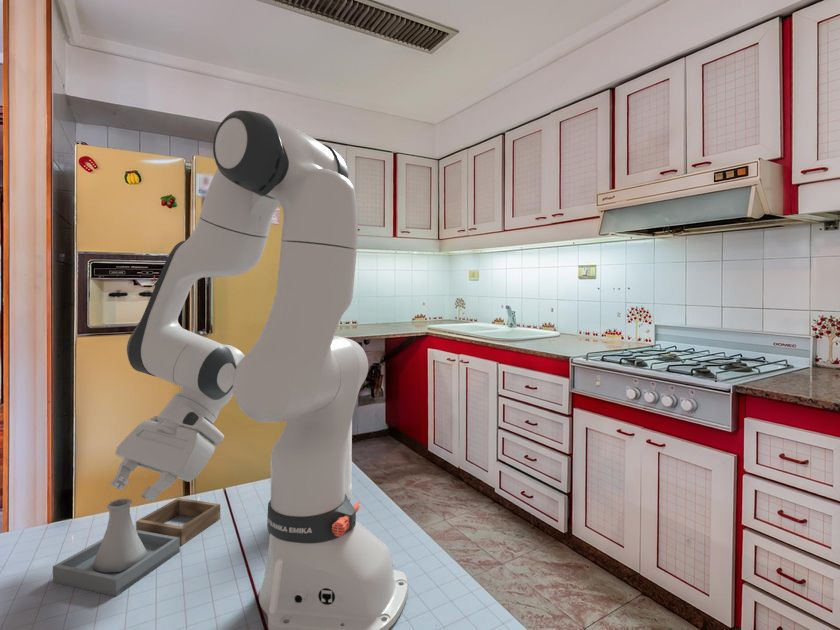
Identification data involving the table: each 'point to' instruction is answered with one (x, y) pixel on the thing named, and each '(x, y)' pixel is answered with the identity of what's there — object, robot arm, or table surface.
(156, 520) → the shaker holder
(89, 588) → the tray
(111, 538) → the flask
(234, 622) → the table surface
